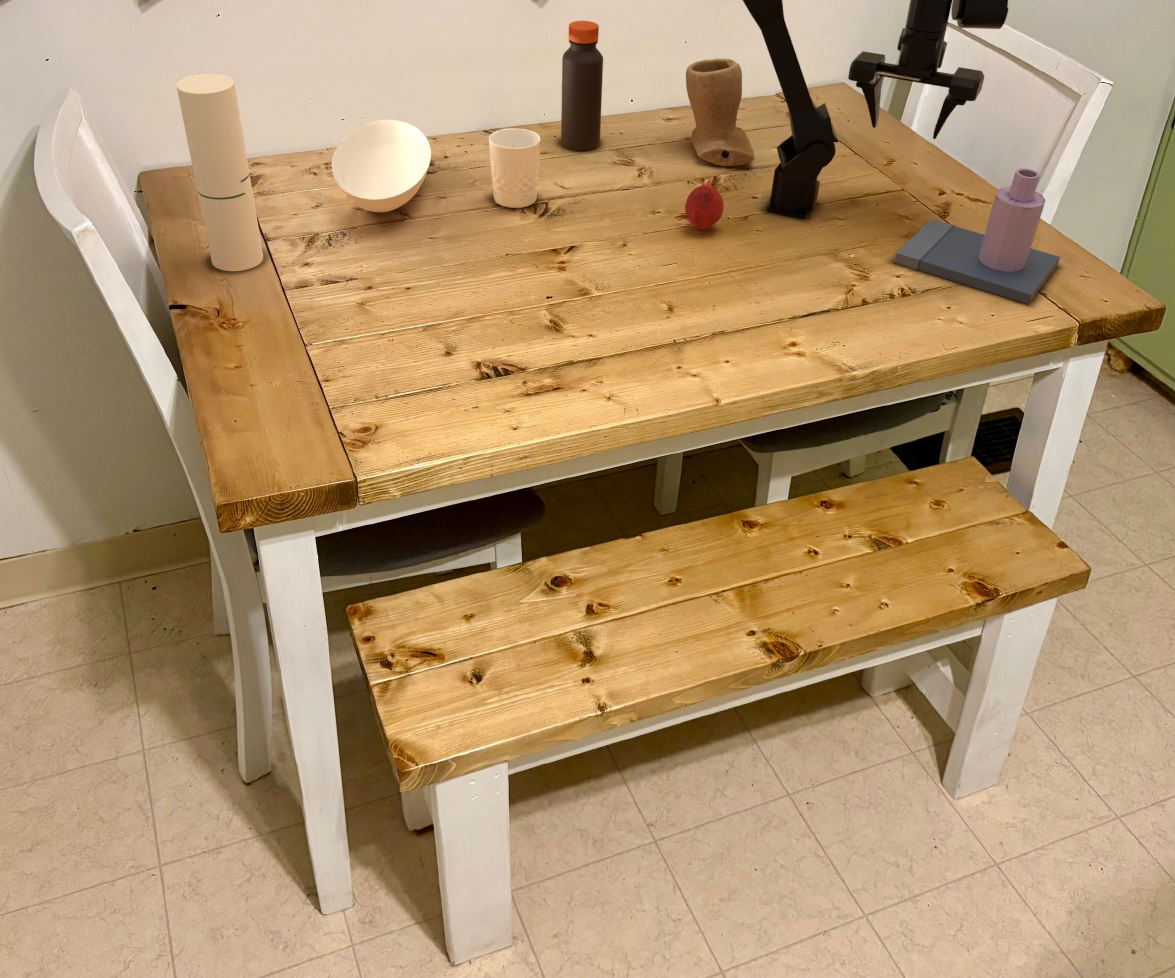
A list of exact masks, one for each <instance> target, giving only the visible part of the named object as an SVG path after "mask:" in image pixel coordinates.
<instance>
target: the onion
mask: <svg viewBox="0 0 1175 978" xmlns="http://www.w3.org/2000/svg"><path fill="white" fill-rule="evenodd" d="M712 182H713V181H712V180H711V179H709V178H707V179H704V181H703V182H702V184H701V185H699V186H697V187H695V188H694V189H693V190H692V191H691V192H690V193H689V195H688V196H687V199H686V201H685V205H684V213H685V215H686V217H687V220H688V221H689V222H690V224H691V225H692V226H693V227H695V228H697V229H698V230H700V231H705V230H706V229H709V228H711V227H712V226H714V225H715V224H716V223H718V222H719V221H720V220H721V218H722V216H723V213H724V208H725V207H724V206H725V205H724V204H725V203H724V199H723V197H722V194H721V193H720V191H719V190H718V189H717V188H716V187H715V186H713V185H712Z"/></svg>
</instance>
